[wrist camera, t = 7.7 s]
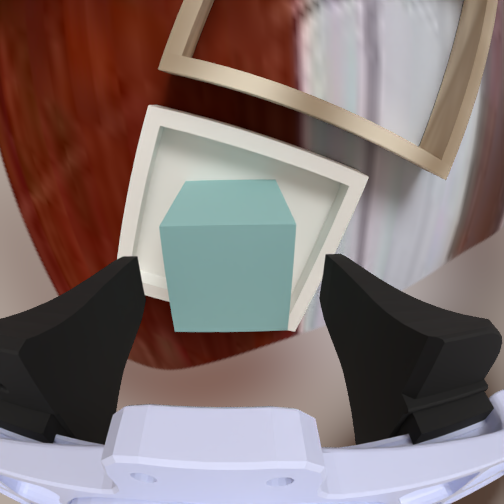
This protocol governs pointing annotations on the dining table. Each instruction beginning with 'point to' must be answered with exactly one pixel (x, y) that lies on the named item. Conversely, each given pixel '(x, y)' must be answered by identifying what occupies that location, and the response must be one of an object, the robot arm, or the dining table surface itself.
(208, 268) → the teal block
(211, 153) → the tray
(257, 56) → the dining table surface
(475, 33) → the bin
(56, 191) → the dining table surface
